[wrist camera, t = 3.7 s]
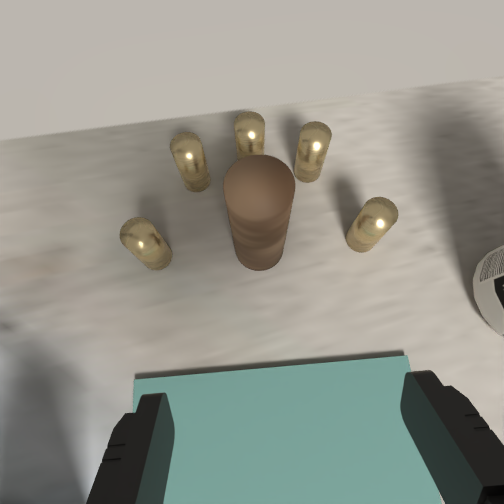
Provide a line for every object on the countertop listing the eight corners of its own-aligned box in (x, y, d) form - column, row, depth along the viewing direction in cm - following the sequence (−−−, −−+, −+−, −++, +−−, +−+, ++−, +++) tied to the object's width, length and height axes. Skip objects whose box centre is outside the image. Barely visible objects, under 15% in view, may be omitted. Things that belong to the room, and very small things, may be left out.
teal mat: (128, 608, 20) (126, 612, 20) (135, 379, 25) (133, 379, 24) (455, 577, 20) (459, 581, 20) (405, 355, 25) (407, 355, 24)
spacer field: (142, 271, 27) (118, 250, 23) (146, 159, 31) (125, 121, 26) (377, 251, 28) (401, 226, 23) (353, 142, 31) (369, 101, 27)
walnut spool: (237, 272, 27) (225, 220, 18) (233, 228, 29) (221, 157, 19) (285, 268, 27) (299, 214, 18) (280, 224, 29) (290, 151, 19)
